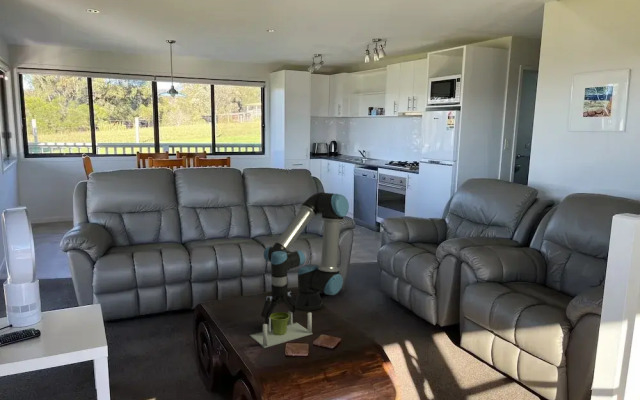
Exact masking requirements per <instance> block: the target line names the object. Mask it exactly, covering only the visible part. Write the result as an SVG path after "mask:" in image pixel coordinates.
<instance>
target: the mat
mask: <svg viewBox="0 0 640 400" xmlns="http://www.w3.org/2000/svg"><path fill="white" fill-rule="evenodd" d="M312 315H313V313H312V312H310V311H309V312H307V328H306V327H304V326H303V325H301V324H300V323H298V322H293V325H292V326H291V325H290V324H289V323H288V324H287V330H286V333H285V334H282V335H275V334H274V332H273V328H271V331H268V330H267V324H266V323H263V324H262V331H260V332H259V331H258V332H256V333H252V334H249V336H250V338H252V339H253V340H254V341H255V342H257V343H258V344H259V345H260V346H261V347H262V348H263V349H265V348H269V347H273V346H276V345H279V344H284V343H286V342H290V341H293V340H296V339H300V338H303V337H307V336H310V335H313V331H312V330H313V327H312V325H313V324H312V323H313V322H312V320H313V317H312Z"/></svg>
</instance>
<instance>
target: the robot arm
mask: <svg viewBox="0 0 640 400" xmlns="http://www.w3.org/2000/svg"><path fill="white" fill-rule="evenodd" d="M349 208H350V206H349V201H348V199H347V197H346V196H345V195H343V194H339V193H330V192H316V193H314V194H311V196H309V197H308V198H307V199H306V200H304V202H303V203H302V204H301V205H300V207H299V211H298V212H297V214H296V215H295V217H294V218H293V219H292V221H291V222H290V223H289V224H288V226H287V227H286V229H285V230H283V232H282V234H281V235H279V238H278V239H277V240H276V242H275V243H274V244H273V246H267V247H266V248H265V249H264V250H263V258H264V259H265V261H267V262H270V272H271V273H270V274H271V278H270V279H271V281H270V282H271V295H270V296H268V295H265V302H264V304H263V308H262V312H261V317H262V318H263V319H264V324H267V330H268V331H271V329H272V321H271V318H270V315H271V314H273V313H272V312H273V311H274V309H275V307H276V306H277V305H278V304H282V303H283V304H285V306H286V307H287V308H288V312H287V313H288V314H289V315H290V316H289V319H288V323H287V324H288V325H289V324H290V325H291V326H292V325H293V323H294V321H293V319H294V317H295V313H296V311H297V310H301V311H309V312H310V311H315V310H319V309H321V308H322V306H323V301H322V298H321V296H320V293H322V294H325V295H330V296H335V295H338V293H339V292H340V290H342V287H343V284H344V278H343V276H342V275H341V274H340V268H338V254H339V242H340V229H341V223H342V221H344V217H346V216H347V215H348V213H349V210H350V209H349ZM319 214H321V219H322V220H323V222H324V223H323V234H322V247H321V248H322V249H321V261H320V265H318V264H305V261H306V256H305V254H304V252H303V251H302V250H294V251H290V248H291V247H292V246H293V244H294V243H295V241H296V240H297V239H298V237H300V235H301V233H302V232H303V231H304V229H305V228H306V226H307V225H308V224H309V223H310V221H311V220H312V219H314V218H316V216H317V215H319ZM304 264H305V265H304ZM298 267H299V268H298ZM294 268H298V270H297V295H296V297H295V298H294V292H292V291H291V290H289V291H288V270H291V269H294ZM287 297H288V299H289V301H290V302H289V301H288V299H287Z"/></svg>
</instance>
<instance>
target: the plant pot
mask: <svg viewBox="0 0 640 400" xmlns="http://www.w3.org/2000/svg"><path fill="white" fill-rule="evenodd" d="M289 316H290V315H289V314H288V312H283V311H276V312H273V313H271V315H270V318H271V326H272V329H273V332H274V334H275V335H282V334H285V333H286V330H287V325H288V324H289V323H288V319H289Z"/></svg>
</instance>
